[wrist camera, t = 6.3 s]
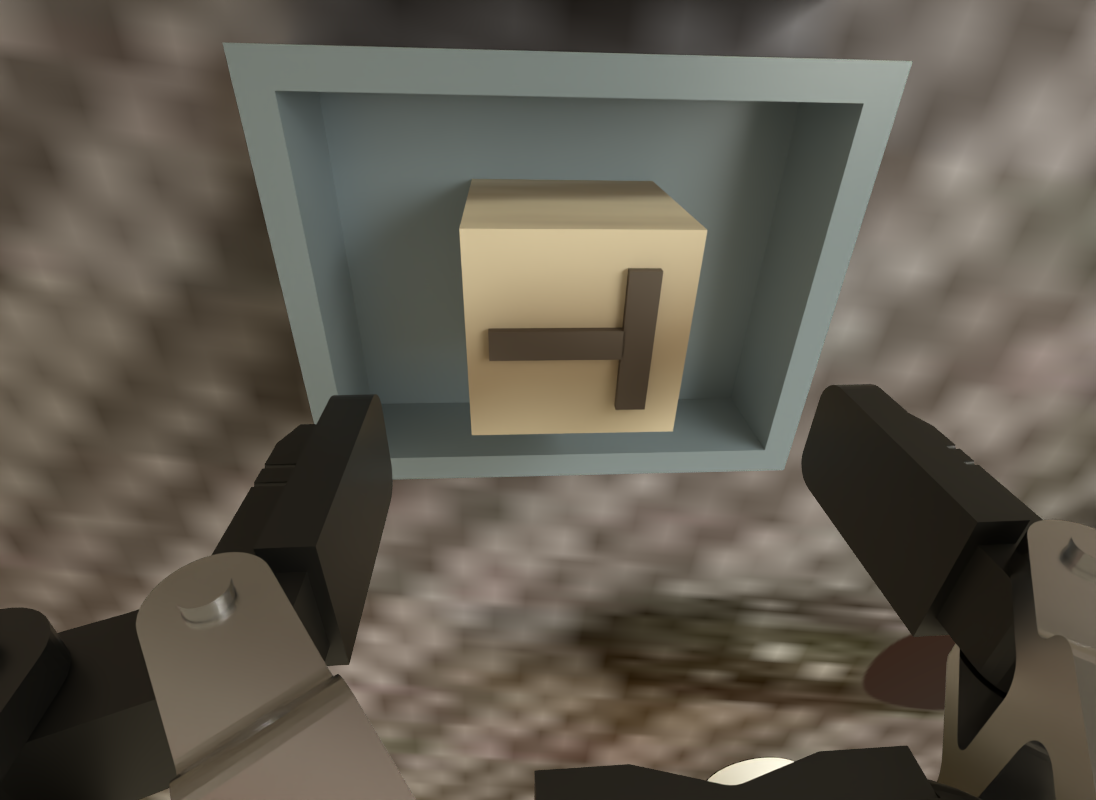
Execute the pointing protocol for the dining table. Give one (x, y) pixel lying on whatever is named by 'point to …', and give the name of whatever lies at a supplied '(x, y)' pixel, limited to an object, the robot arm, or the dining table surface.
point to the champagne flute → (747, 770)
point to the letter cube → (576, 304)
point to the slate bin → (559, 154)
